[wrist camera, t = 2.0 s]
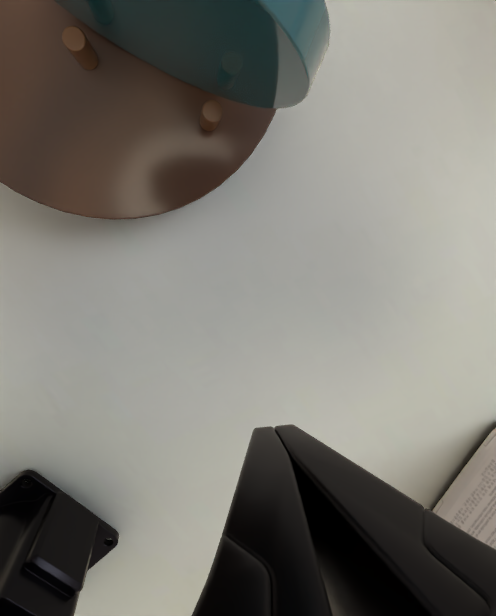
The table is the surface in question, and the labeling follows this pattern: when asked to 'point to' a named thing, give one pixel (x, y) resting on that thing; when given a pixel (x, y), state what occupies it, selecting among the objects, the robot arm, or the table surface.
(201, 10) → the dish rack
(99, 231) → the table surface
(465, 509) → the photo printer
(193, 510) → the table surface
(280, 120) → the table surface
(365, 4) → the table surface
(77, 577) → the robot arm
